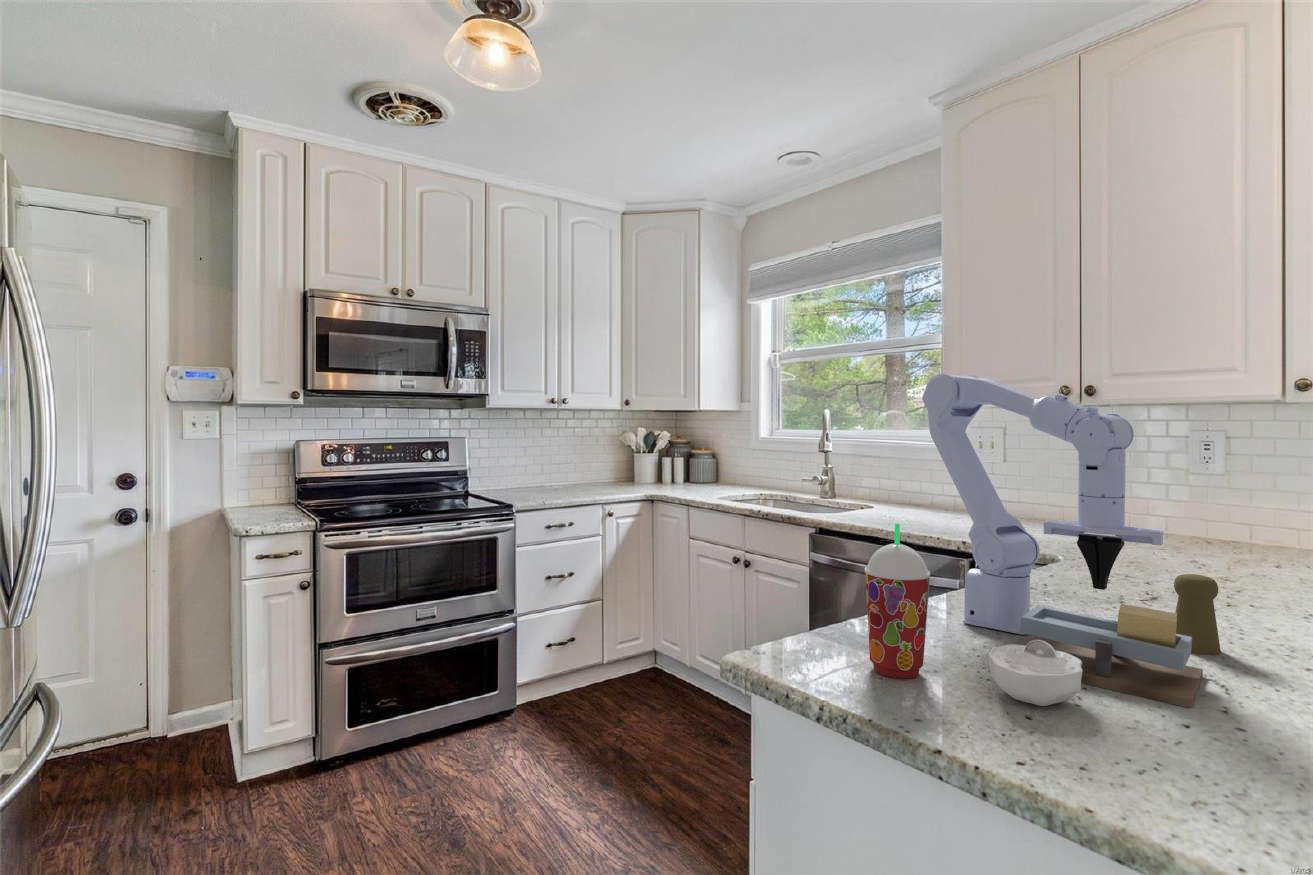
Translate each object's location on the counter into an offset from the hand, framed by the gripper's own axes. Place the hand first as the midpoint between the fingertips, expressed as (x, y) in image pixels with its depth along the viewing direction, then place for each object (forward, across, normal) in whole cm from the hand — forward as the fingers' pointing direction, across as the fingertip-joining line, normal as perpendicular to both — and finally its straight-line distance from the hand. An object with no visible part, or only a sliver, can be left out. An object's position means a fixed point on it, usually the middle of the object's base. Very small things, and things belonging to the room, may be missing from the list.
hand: (1100, 588), depth 98 cm
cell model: (+10, -2, -26) cm, 28 cm away
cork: (+10, +10, +12) cm, 18 cm away
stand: (+9, +3, -9) cm, 13 cm away
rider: (+5, +7, -9) cm, 12 cm away
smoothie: (+10, -18, -29) cm, 35 cm away
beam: (+6, +2, -9) cm, 11 cm away
